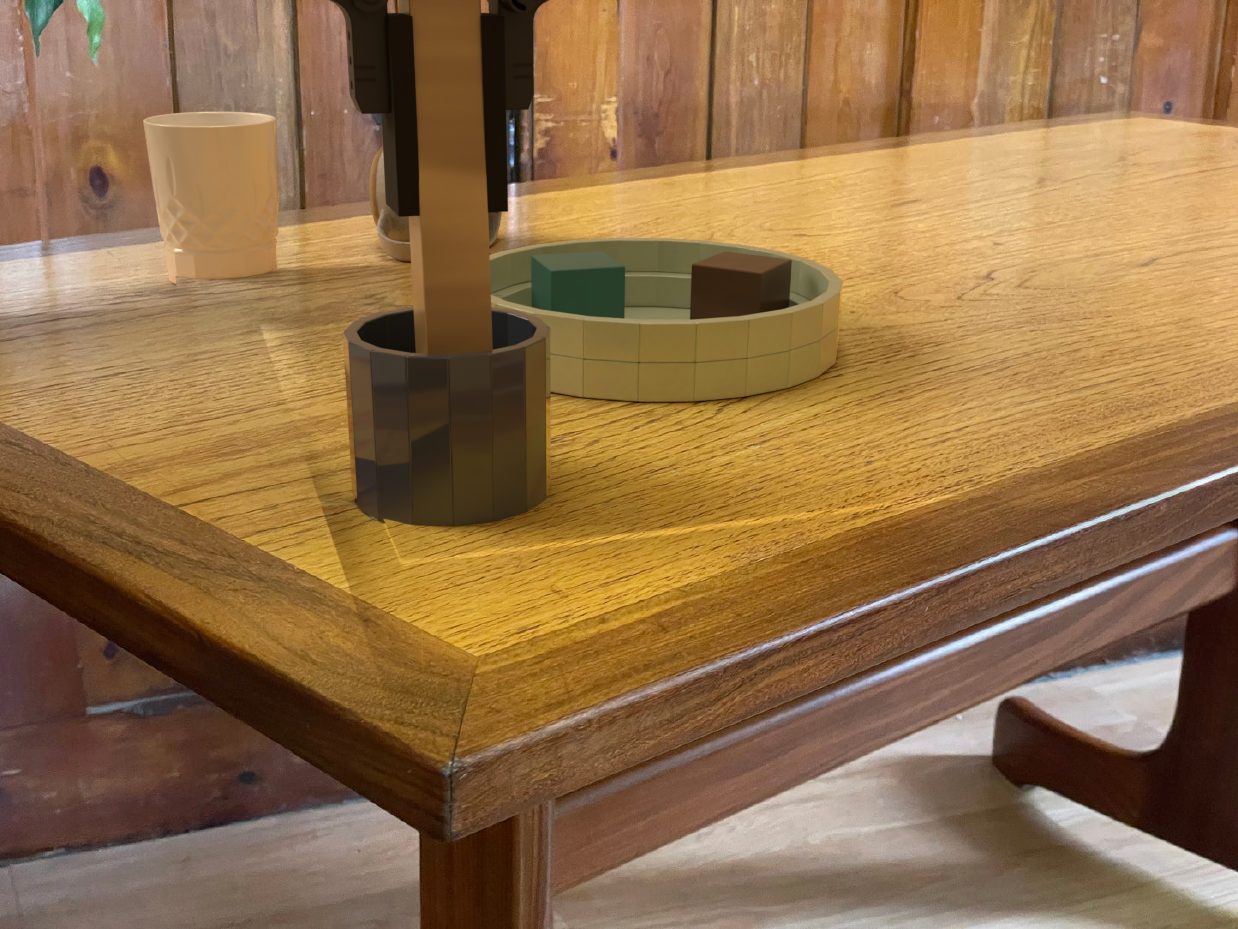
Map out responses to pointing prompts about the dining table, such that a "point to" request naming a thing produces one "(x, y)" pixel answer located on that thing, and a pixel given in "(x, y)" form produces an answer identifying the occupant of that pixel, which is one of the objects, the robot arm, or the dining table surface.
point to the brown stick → (450, 180)
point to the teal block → (578, 284)
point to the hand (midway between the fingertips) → (446, 206)
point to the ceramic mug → (397, 228)
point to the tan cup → (215, 192)
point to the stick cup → (448, 422)
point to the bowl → (677, 326)
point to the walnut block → (739, 285)
